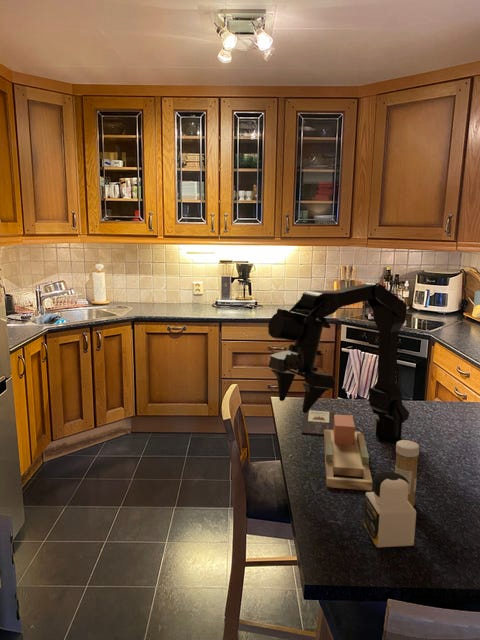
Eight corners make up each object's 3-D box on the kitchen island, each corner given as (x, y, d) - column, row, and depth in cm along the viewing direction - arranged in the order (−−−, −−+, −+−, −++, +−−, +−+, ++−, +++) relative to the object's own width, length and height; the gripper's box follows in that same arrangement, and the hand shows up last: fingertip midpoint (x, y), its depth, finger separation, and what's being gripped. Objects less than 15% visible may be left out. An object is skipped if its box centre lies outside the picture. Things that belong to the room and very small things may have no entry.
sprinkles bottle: (419, 504, 101) (424, 445, 98) (405, 511, 98) (410, 450, 96) (401, 495, 105) (405, 437, 102) (387, 501, 102) (391, 442, 100)
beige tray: (360, 438, 134) (360, 425, 133) (372, 490, 106) (373, 474, 106) (323, 436, 135) (324, 422, 134) (326, 486, 108) (327, 470, 107)
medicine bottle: (363, 524, 94) (366, 468, 92) (398, 523, 94) (402, 466, 92) (376, 548, 87) (380, 487, 85) (414, 546, 87) (419, 486, 85)
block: (351, 432, 133) (352, 415, 132) (354, 444, 125) (354, 426, 124) (333, 431, 133) (334, 414, 132) (334, 443, 125) (335, 425, 125)
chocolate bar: (301, 432, 136) (305, 410, 154) (301, 435, 136) (304, 412, 154) (333, 435, 135) (333, 412, 152) (333, 438, 135) (333, 414, 152)
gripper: (258, 331, 118) (244, 393, 118) (305, 347, 102) (289, 417, 103) (293, 337, 123) (280, 396, 124) (343, 353, 108) (327, 420, 108)
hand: (292, 406), depth 115 cm, fingers open, 9 cm apart
